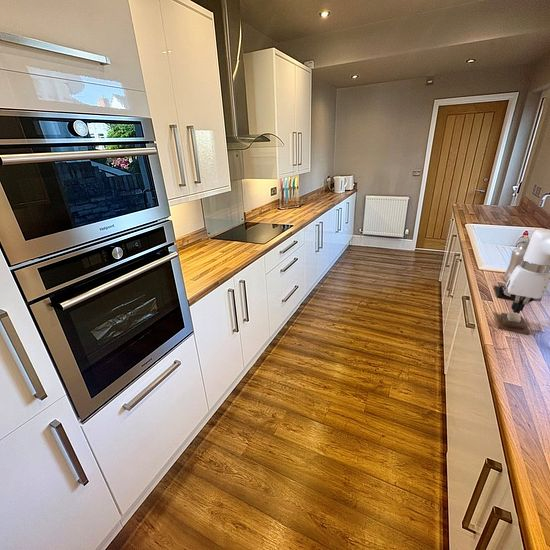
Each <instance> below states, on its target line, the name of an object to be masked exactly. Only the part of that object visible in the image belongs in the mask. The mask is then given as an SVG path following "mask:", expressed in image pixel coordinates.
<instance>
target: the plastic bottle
mask: <svg viewBox="0 0 550 550" xmlns="http://www.w3.org/2000/svg"><path fill="white" fill-rule="evenodd" d="M529 242H530V241H529ZM529 242H528V241H519V243H518V244H517V245H518V246H517V247H516V248H514V249H513V250H512V251H511V253H510V254H511V255H510V261H509V264H508V267H507V268H506V271H505V272H504V274H503V276H502V277H503V280H504V281H505V282H506V283H507V282H508V280H509V278H510V276H511V274H512V272H513V271H514V269H515V268H516V266H517V265H521V262H522V260H523V257H524V255H525V252H526V250H527V247H528V245H529Z"/></svg>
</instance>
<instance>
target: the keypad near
mask: <svg viewBox="0 0 550 550" xmlns="http://www.w3.org/2000/svg"><path fill="white" fill-rule="evenodd" d="M507 314H508V313H505V312H501V313H500V314H497V313H495V314H494V320H495V323H496V327H497V329H498V330H501V331H505V332H506V331H507V332H511V333H516V334H520V335H525V336H529V335H530V333H531V332H530V329H529V328H528V326H527V323H526V321H525V319H524V318H523V316H520V318H521V321H520V323H518V322H513V321H509V320H508V318H507Z"/></svg>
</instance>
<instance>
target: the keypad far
mask: <svg viewBox="0 0 550 550" xmlns="http://www.w3.org/2000/svg"><path fill="white" fill-rule="evenodd" d="M505 287H506V284H505V285H504V284H500V286H498V285H494V286H493V291H494V294H495V296H496V298H497V299H501V300H507V301H511V302H512V301H514V300H513V299H512V298H511V297H510V296H507V295H504V291H505V290H506V288H505ZM522 297H523V296H520V299H519V300H521V299H522Z"/></svg>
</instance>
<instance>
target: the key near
mask: <svg viewBox="0 0 550 550" xmlns="http://www.w3.org/2000/svg"><path fill="white" fill-rule="evenodd" d="M506 314H507V318H508V320H509V321H513V322H518V323H520V321H521V318H520V314H518V313H514V312H507V313H506Z"/></svg>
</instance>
